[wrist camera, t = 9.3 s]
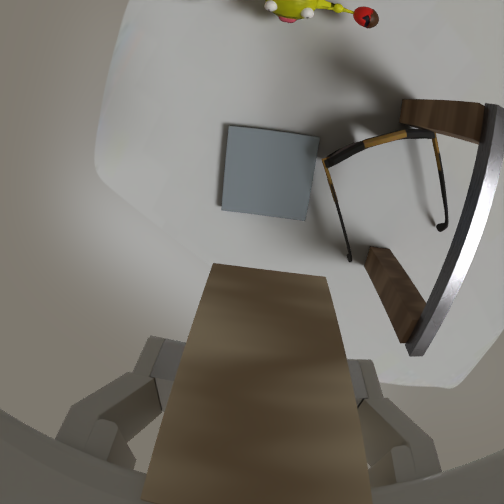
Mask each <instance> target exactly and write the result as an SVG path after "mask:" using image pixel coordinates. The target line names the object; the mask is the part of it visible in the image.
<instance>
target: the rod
mask: <svg viewBox="0 0 504 504" xmlns="http://www.w3.org/2000/svg"><path fill="white" fill-rule="evenodd" d="M503 156H504V108H502V107H500V106H499V105H496V104H487V103H485V107H484V115H483V122H482V129H481V135H480V141H479V146H478V151H477V156H476V161H475V165H474V169H473V174H472V178H471V182H470V186H469V189H468V193H467V197H466V200H465V204H464V207H463V210H462V214H461V217H460V220H459V223H458V226H457V229H456V232H455V235H454V238H453V241H452V243H451V246H450V249H449V251H448V254H447V257H446V259H445V262H444V264H443V267H442V269H441V272H440V274H439V276H438V279H437V281H436V283H435V286H434V288H433V290H432V292H431V295H430V297H429V299H428V301H427V303H426V305H425V307H424V309H423V311H422V314H421V316H420V318H419V320H418V321H417V323H416V325H415V327H414V329H413V331H412V333H411V335H410V337H409V339H408V340H407V342H406V344H405V346H406V349H407V351H408V353H409V356H423V355H424V353H425V352H426V350H427V348H428V347H429V345H430V343H431V342H432V340H433V338H434V337H435V335H436V333H437V331H438V330H439V328H440V326H441V324H442V322H443V320H444V319H445V317H446V315H447V313H448V311H449V309H450V307H451V305H452V303H453V301H454V299H455V297H456V295H457V293H458V291H459V289H460V286H461V284H462V282H463V280H464V278H465V275H466V273H467V271H468V268H469V266H470V264H471V261H472V259H473V256H474V254H475V251H476V249H477V246H478V243H479V241H480V238H481V235H482V232H483V229H484V227H485V224H486V221H487V217H488V214H489V211H490V208H491V205H492V201H493V198H494V194H495V190H496V187H497V183H498V179H499V175H500V170H501V166H502V161H503Z"/></svg>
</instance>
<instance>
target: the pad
mask: <svg viewBox="0 0 504 504" xmlns="http://www.w3.org/2000/svg"><path fill="white" fill-rule="evenodd" d="M319 139H320V138H319V137H314V136H308V135H302V134H296V133H289V132H282V131H275V130H267V129H259V128H250V127H240V126H229V130H228V140H227V151H226V162H225V173H224V185H223V197H222V210H224V211H232V212H241V213H249V214H257V215H265V216H272V217H280V218H287V219H295V220H302V221H305V219H306V214H307V209H308V203H309V198H310V192H311V187H312V181H313V175H314V169H315V164H316V158H317V151H318V145H319Z"/></svg>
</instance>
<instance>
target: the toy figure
mask: <svg viewBox="0 0 504 504" xmlns="http://www.w3.org/2000/svg"><path fill="white" fill-rule="evenodd" d="M264 7H265V9H266V10H268V11H272V12H273V13H274V14H276V15H277V16H278V17H279V19H280V20H281V21H283V22H287V23H293V22H295V21H296V20H298V19H303V18H307V19H308V18H311V17H313V15H314V11H315V9H316V8H318V9H328V10H333V11H334V12H336V13H341V12H347V13H351V14H353V17H354V19H355V21H356V22H357V23H358V24H359V25H361V26H363V27H366V28H372V27H375V26H376V25H377V24H378V22H379V17H378V14H377V13H376V11H375V10H373V9H371V8H369V7H358V8H357V9H355V11H354V12H353V11H351V10H348V9H346V8H344V7H343V6H342V5H341V4H338V3H336V4H333V3H330V2H327V1H325V0H266V3H265V5H264Z"/></svg>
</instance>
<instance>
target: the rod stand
mask: <svg viewBox="0 0 504 504" xmlns="http://www.w3.org/2000/svg"><path fill="white" fill-rule="evenodd" d="M484 107H485V106H483V105H482V104H480V103H475V102H464V101H449V100H425V99H403V100H402V107H401V114H400V120H399V123H402V124H406V125H409V126H412V127H415V128H418V129H428V130H430V131H432V132H435V133H439V134H443V135H447V136H451V137H454V138H458V139H462V140H465V141H469V142H472V143H475V144H478V145H479V141H480V135H481V129H482V122H483V115H484ZM364 267H365V269H366V271H367V273H368V275H369V277H370V279H371V281H372V283H373V285H374V287H375V289H376V291H377V293H378V295H379V297H380V299H381V301H382V304H383V306H384V308H385V310H386V312H387V314H388V317H389V319H390V321H391V323H392V326H393V328H394V330H395V332H396V335H397V337H398V339H399V342H400V343H406V342H407V340H408V339H409V337H410V335H411V333H412V331H413V329H414V327H415V325H416V323H417V321H418V320H419V318H420V316H421V314H422V311H423V309H424V307H425V305H426V302H425V301H424V299H423V298H422V296H421V294H420V293H419V291H418V290H417V288H416V287H415V285H414V284H413V282H412V281H411V279H410V278H409V276H408V275H407V273H406V272H405V270H404V269H403V267H402V266H401V265H400V263H399V262H398V260H397V259H396V257H395V256H394V255H393V253H392V252H391V250H390V249H385V248H378V247H371V246H370V249H369V252H368V255H367V259H366V262H365V265H364Z"/></svg>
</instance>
